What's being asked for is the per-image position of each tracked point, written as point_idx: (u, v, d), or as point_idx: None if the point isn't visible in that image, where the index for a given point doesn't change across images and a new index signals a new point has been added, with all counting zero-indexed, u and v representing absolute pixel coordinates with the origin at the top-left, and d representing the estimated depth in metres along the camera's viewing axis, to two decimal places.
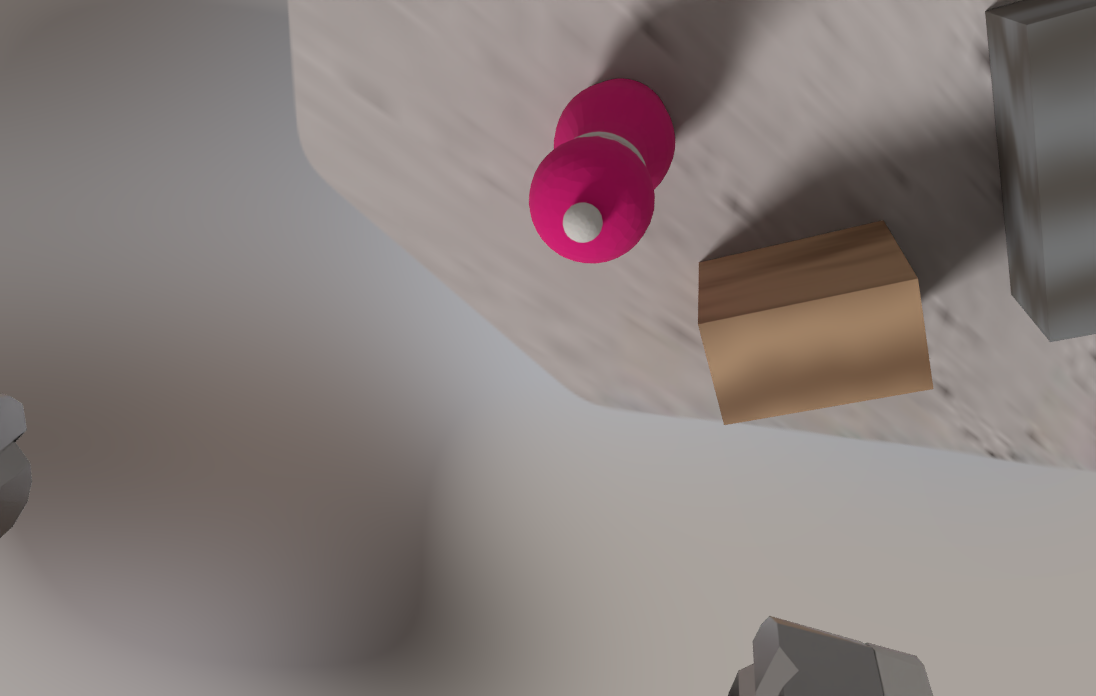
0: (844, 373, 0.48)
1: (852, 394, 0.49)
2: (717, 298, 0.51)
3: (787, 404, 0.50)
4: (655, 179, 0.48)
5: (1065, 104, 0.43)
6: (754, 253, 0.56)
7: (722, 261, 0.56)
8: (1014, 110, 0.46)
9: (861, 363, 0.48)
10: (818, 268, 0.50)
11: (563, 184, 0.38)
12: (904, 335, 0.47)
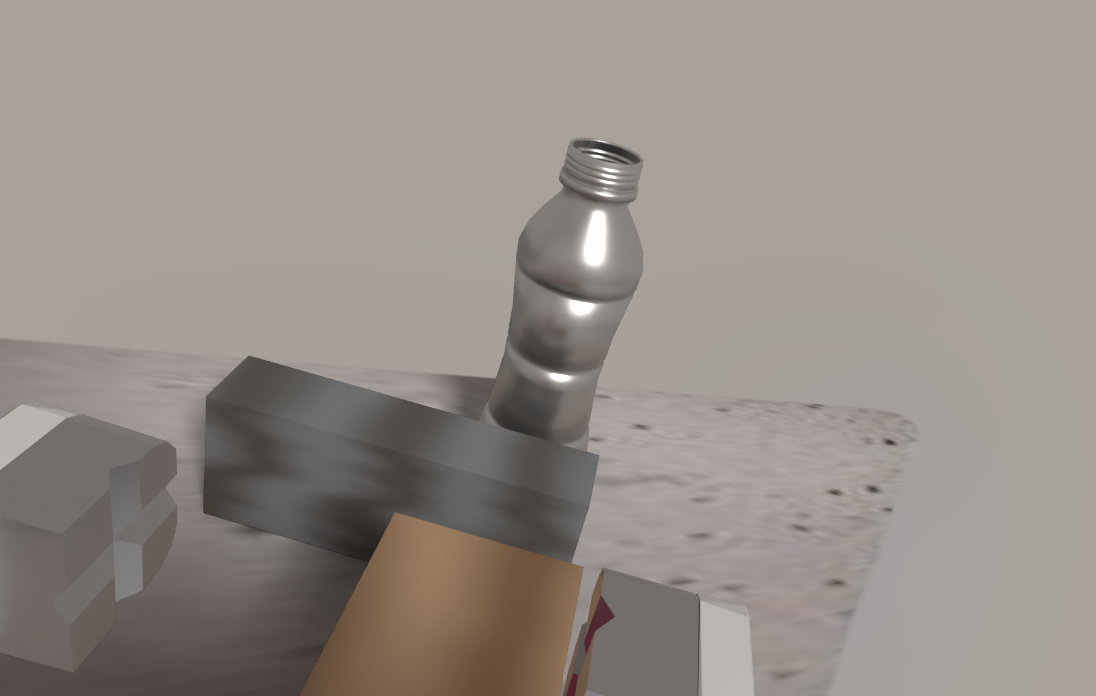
0: (500, 651, 0.26)
1: (547, 658, 0.26)
2: None
3: None
4: None
5: (312, 405, 0.39)
6: None
7: None
8: (305, 480, 0.39)
9: (492, 621, 0.27)
10: None
11: None
12: (474, 558, 0.29)
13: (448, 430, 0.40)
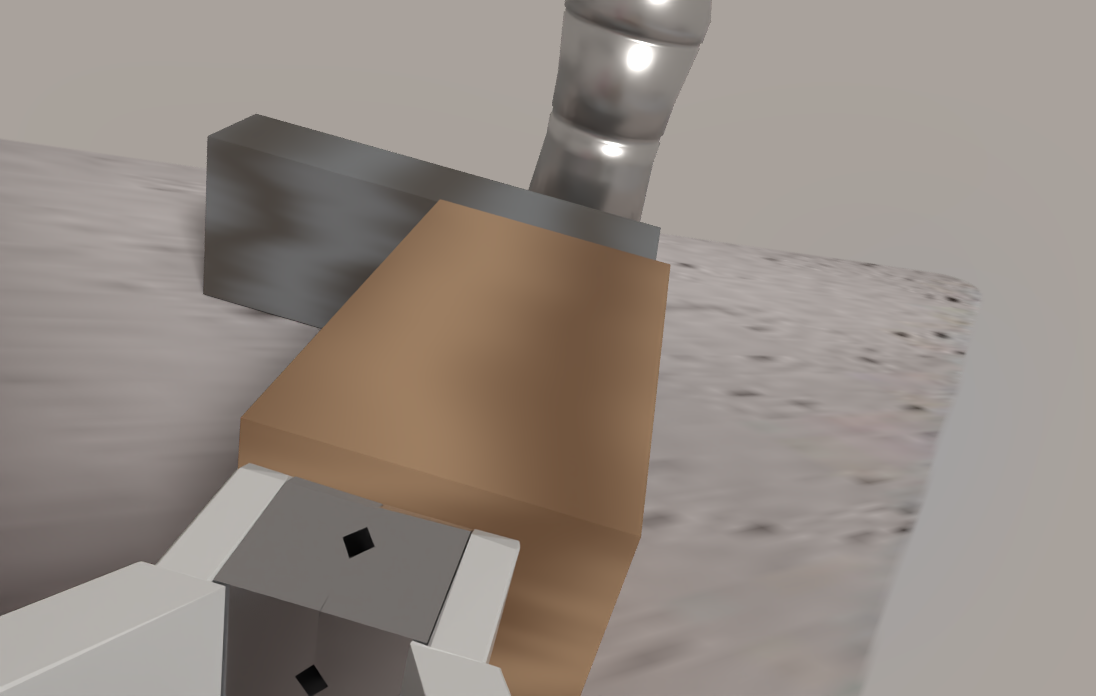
0: (581, 312, 0.20)
1: (641, 325, 0.21)
2: None
3: (625, 403, 0.17)
4: None
5: (331, 156, 0.34)
6: None
7: None
8: (322, 245, 0.34)
9: (568, 290, 0.21)
10: None
11: None
12: (540, 242, 0.24)
13: (488, 191, 0.34)
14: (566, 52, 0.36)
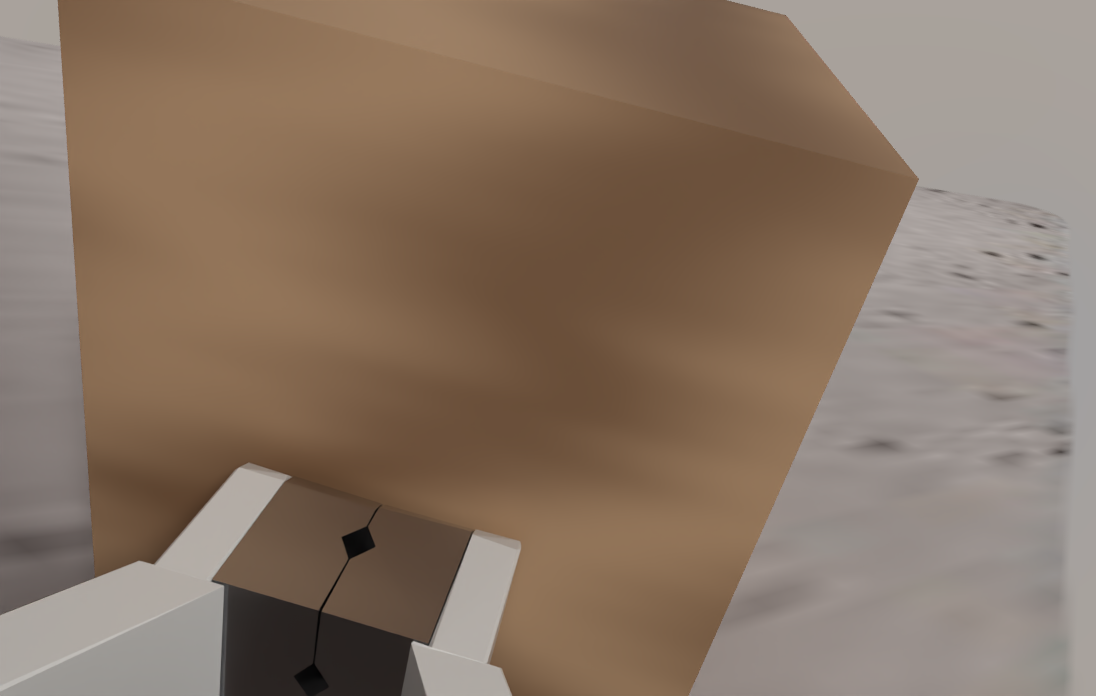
0: (682, 13, 0.13)
1: (774, 35, 0.13)
2: None
3: (791, 73, 0.10)
4: None
5: None
6: None
7: None
8: None
9: (655, 0, 0.14)
10: None
11: None
12: None
13: None
14: None
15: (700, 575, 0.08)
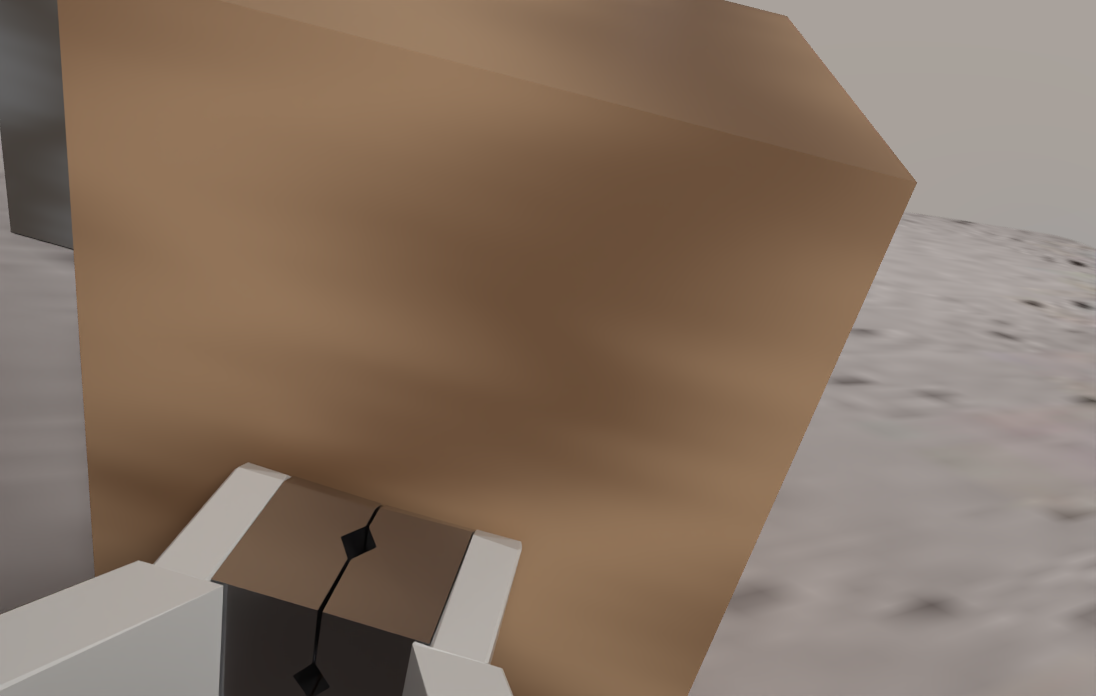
0: (682, 15, 0.13)
1: (774, 36, 0.13)
2: None
3: (790, 75, 0.10)
4: None
5: None
6: None
7: None
8: None
9: (655, 1, 0.14)
10: None
11: None
12: None
13: None
14: None
15: (698, 577, 0.08)
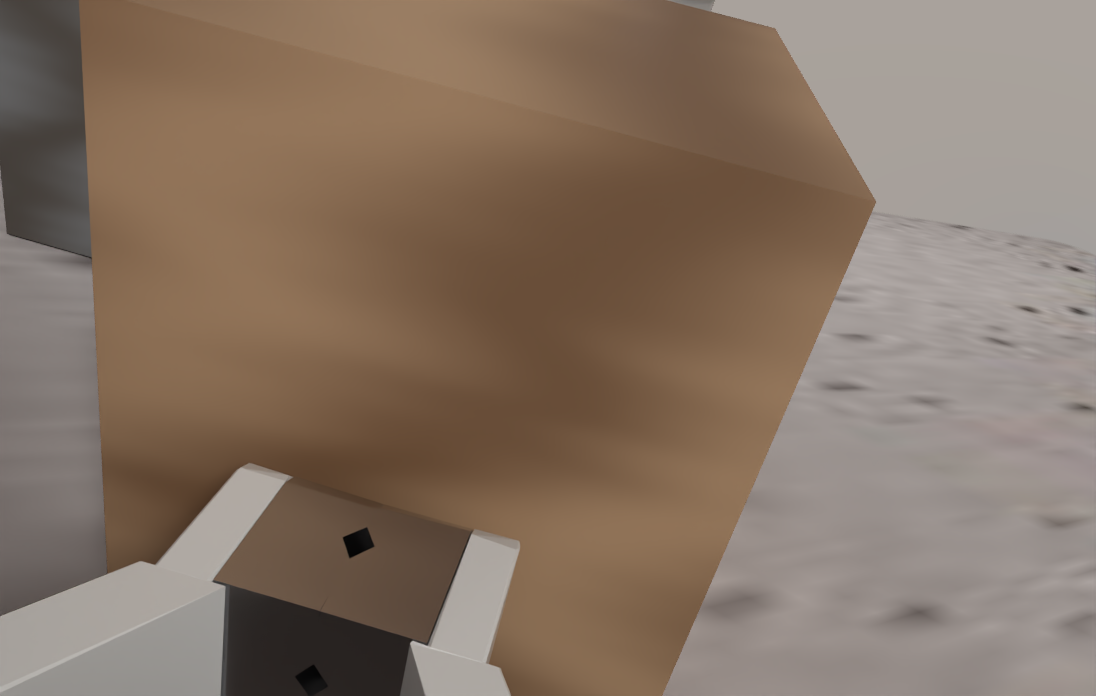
0: (671, 30, 0.13)
1: (760, 51, 0.14)
2: None
3: (770, 93, 0.10)
4: None
5: None
6: None
7: None
8: None
9: (646, 15, 0.14)
10: None
11: None
12: None
13: None
14: None
15: (678, 568, 0.09)
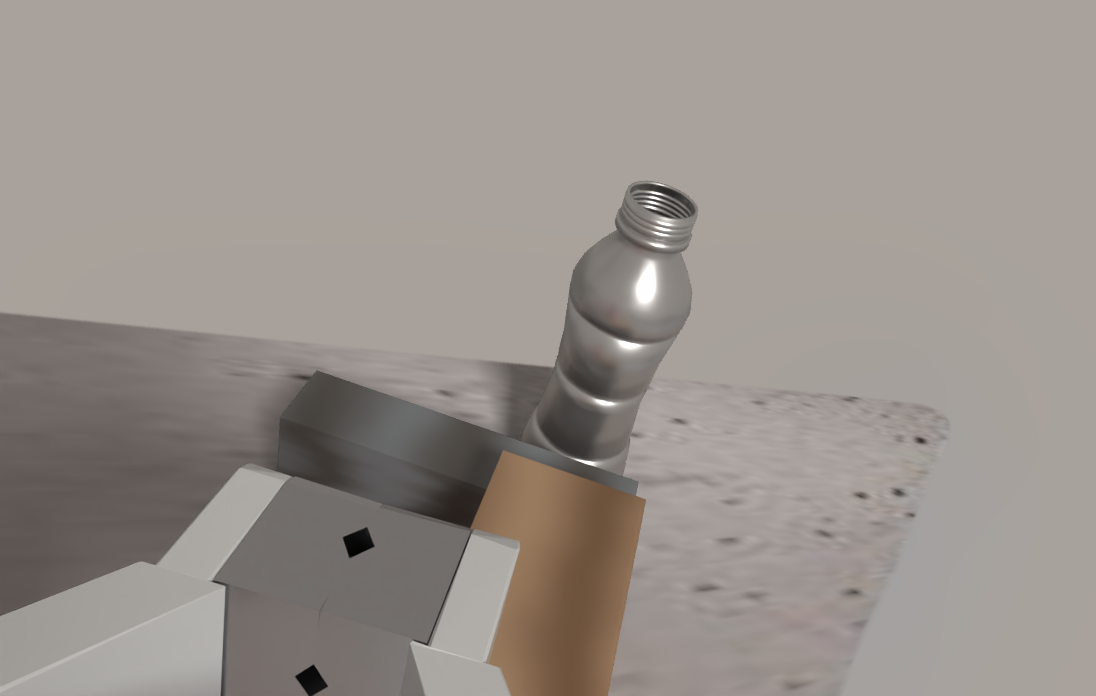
0: (584, 560, 0.35)
1: (619, 567, 0.35)
2: None
3: (601, 640, 0.32)
4: None
5: (376, 427, 0.42)
6: None
7: None
8: (368, 493, 0.43)
9: (578, 538, 0.36)
10: None
11: None
12: (564, 489, 0.38)
13: (499, 454, 0.43)
14: (569, 328, 0.44)
15: None
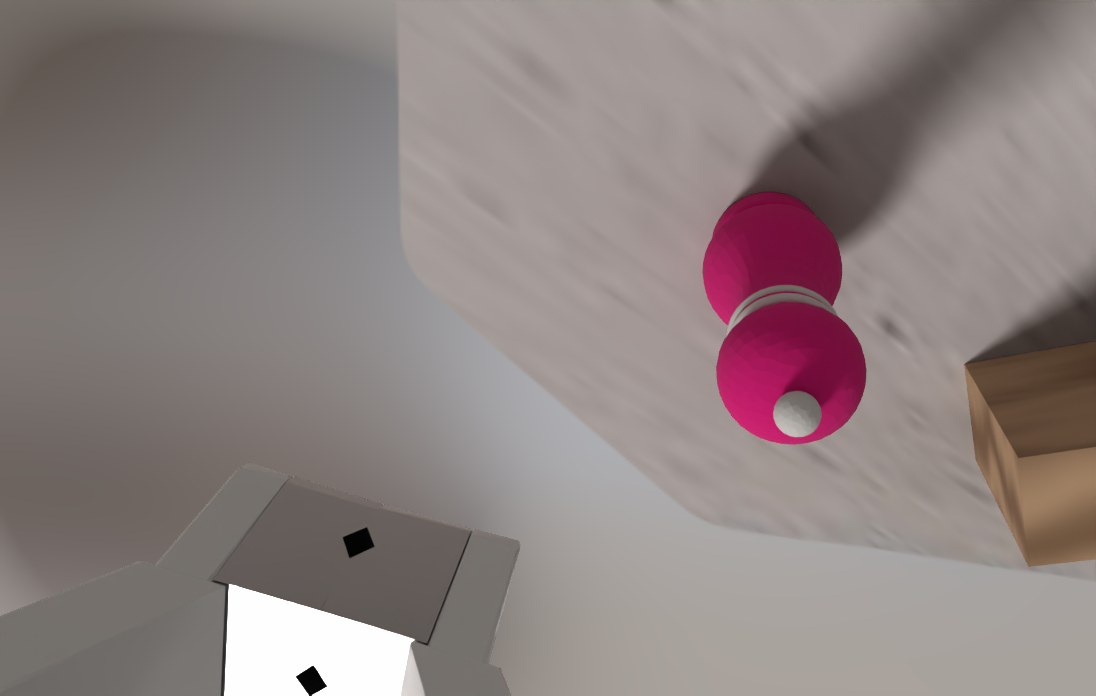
0: None
1: None
2: (1023, 420, 0.44)
3: None
4: None
5: None
6: (1036, 357, 0.49)
7: (997, 365, 0.49)
8: None
9: None
10: None
11: (772, 367, 0.33)
12: None
13: None
14: None
15: (1002, 510, 0.48)
